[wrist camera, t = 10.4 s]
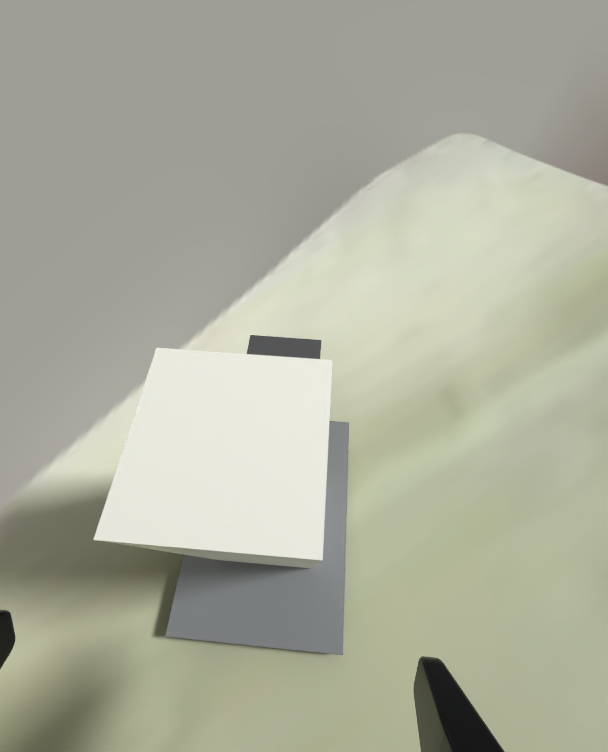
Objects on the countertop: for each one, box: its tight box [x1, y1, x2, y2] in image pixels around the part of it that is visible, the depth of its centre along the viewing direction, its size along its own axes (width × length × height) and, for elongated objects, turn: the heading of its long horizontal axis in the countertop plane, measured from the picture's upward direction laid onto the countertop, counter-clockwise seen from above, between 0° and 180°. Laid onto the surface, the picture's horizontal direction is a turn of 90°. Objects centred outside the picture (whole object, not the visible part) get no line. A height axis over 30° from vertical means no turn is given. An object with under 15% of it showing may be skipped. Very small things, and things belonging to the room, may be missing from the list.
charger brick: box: [93, 348, 332, 568], centre depth 14 cm, size 5×5×12 cm
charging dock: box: [165, 335, 349, 655], centre depth 19 cm, size 14×8×4 cm, turn 175°
